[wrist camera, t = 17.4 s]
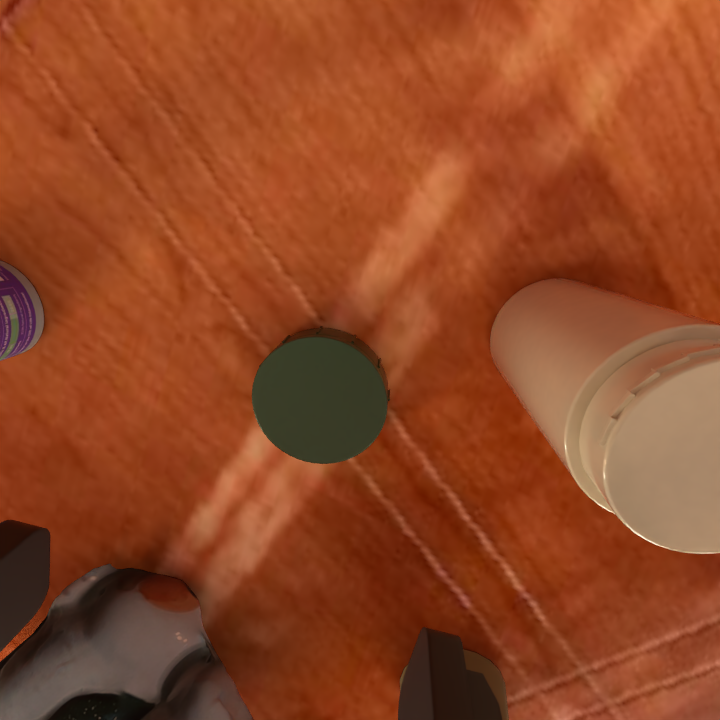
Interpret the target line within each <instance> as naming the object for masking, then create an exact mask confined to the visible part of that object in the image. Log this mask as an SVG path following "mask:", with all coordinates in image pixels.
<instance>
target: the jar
mask: <svg viewBox="0 0 720 720" xmlns="http://www.w3.org/2000/svg"><path fill="white" fill-rule="evenodd" d="M490 350H491V355H492V359H493V362H494V364H495V366H496V368H497V370H498V371H499V373H500V374H501V376H502V377H503V379H504V380H505V381H506V383H507V384H508V386H509V387H510V389H511V390H512V391H513V393H514V394H515V396H516V397H517V399H518V400H519V401H520V403H521V404H522V406H523V407H524V409H525V410H526V411H527V413H528V414H529V416H530V417H531V419H532V420H533V421H534V423H535V424H536V426H537V427H538V429H539V430H540V431H541V433H542V434H543V436H544V437H545V439H546V440H547V441H548V443H549V444H550V446H551V447H552V449H553V450H554V451H555V453H556V454H557V456H558V457H559V459H560V460H561V461H562V463H563V464H564V466H565V467H566V469H567V470H568V471H569V473H570V474H571V476H572V477H573V479H574V480H575V481H576V483H577V484H578V486H579V487H580V488H581V489H582V490H583V492H584V493H585V494H586V495H587V496H588V497H589V498H590V499H592V500H593V501H594V502H595V503H596V504H598V505H599V506H601V507H603V508H604V509H606V510H607V511H610V512H612V513H614V514H616V516H617V517H618V518H619V519H620V520H621V521H622V522H623V524H624V525H625V526H627V527H628V528H629V529H630V530H631V531H632V532H634V533H635V534H637V535H638V536H640V537H641V538H643V539H645V540H647V541H649V542H651V543H653V544H655V545H658V546H660V547H663V548H666V549H670V550H674V551H679V552H684V553H694V554H715V553H720V324H719V323H715V322H712V321H709V320H705V319H702V318H699V317H695V316H692V315H689V314H685V313H682V312H679V311H676V310H672V309H669V308H666V307H662V306H659V305H656V304H652V303H649V302H646V301H642V300H639V299H636V298H632V297H629V296H626V295H622V294H619V293H616V292H612V291H609V290H606V289H603V288H599V287H596V286H593V285H589V284H586V283H583V282H579V281H576V280H571V279H564V278H555V279H547V280H542V281H539V282H536V283H533V284H531V285H529V286H526V287H525V288H523V289H521V290H520V291H518V292H517V293H516V294H514V295H513V296H512V297H511V298H510V299H509V300H508V301H507V302H506V303H505V304H504V306H503V307H502V308H501V310H500V311H499V313H498V315H497V316H496V319H495V321H494V323H493V327H492V330H491V336H490Z"/></svg>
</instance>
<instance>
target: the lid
mask: <svg viewBox="0 0 720 720" xmlns="http://www.w3.org/2000/svg"><path fill="white" fill-rule="evenodd" d="M259 367H260V368H259V369H258V371H257V374H256V376H255V379H254V383H253V389H252V404H253V410H254V413H255V417H256V419H257V422H258V424H259V426H260V428H261V429H262V431H263V432H264V434H265V435H266V436H267V438H268V439H269V440H270V441H271V442H272V443H273V444H274V445H275V446H276V447H278V448H279V449H280V450H282V451H283V452H285V453H286V454H288V455H290V456H292V457H294V458H297V459H299V460H303V461H306V462H311V463H319V464H329V463H336V462H341V461H345V460H348V459H350V458H352V457H355V456H356V455H358V454H360V453H361V452H363V451H364V450H365V449H367V448H368V447H369V446H370V445H371V444H372V443H373V442H374V440H375V439H376V438H377V436H378V435H379V433H380V431H381V430H382V428H383V425H384V422H385V419H386V414H387V404H388V401H390V390H388V382H387V377H386V374H385V371H384V368H383V366H382V364H381V359H378V357H377V356H376V354H375V353H374V352H373V351H372V350H371V349H370V348H369V347H368V346H367V345H366V344H365V343H364V342H362V341H361V340H359V339H358V338H356V335H354V336H353V335H351V334H348V333H346V332H343V331H340V330H335V329H330V328H323V326H320V328H314V329H309V330H304V331H301V332H298V333H296V334H294V335H292V336H290V335H288V336H287V337H286V338H285V339H284V340H283V341H282V343H281V344H280V345H279V346H277V347H276V348H275V349H274V350H273V351H272V352H271V353H270V354H269V355H268V356H267V358H266V359H265V360H264V361H263V363H262V364H261V365H260V366H259Z"/></svg>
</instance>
